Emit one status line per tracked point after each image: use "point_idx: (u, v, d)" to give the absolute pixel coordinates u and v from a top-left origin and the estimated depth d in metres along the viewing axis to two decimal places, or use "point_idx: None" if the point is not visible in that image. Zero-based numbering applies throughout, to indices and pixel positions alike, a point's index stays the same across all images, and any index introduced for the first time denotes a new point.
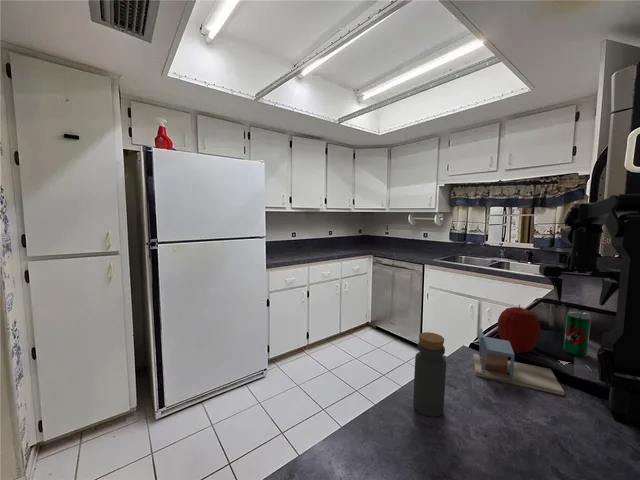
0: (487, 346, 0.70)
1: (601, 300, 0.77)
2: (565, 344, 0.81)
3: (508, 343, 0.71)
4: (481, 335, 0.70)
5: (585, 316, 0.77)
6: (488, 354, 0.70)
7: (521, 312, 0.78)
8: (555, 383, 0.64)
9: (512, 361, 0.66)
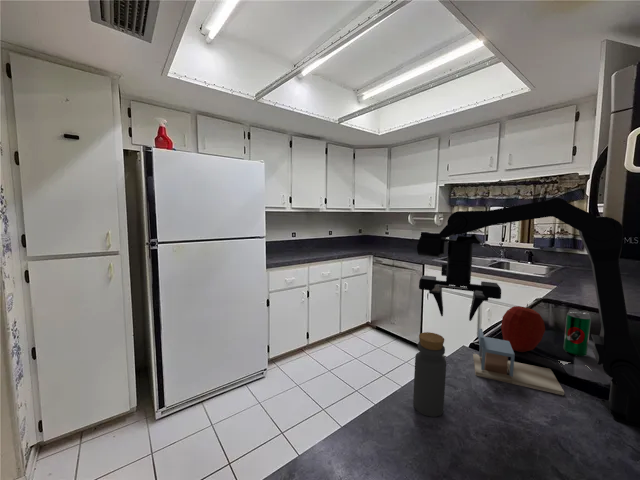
0: (487, 346, 0.70)
1: (469, 315, 0.72)
2: (565, 344, 0.81)
3: (508, 343, 0.71)
4: (481, 335, 0.70)
5: (585, 316, 0.77)
6: (488, 354, 0.70)
7: (528, 310, 0.78)
8: (555, 383, 0.64)
9: (512, 361, 0.66)
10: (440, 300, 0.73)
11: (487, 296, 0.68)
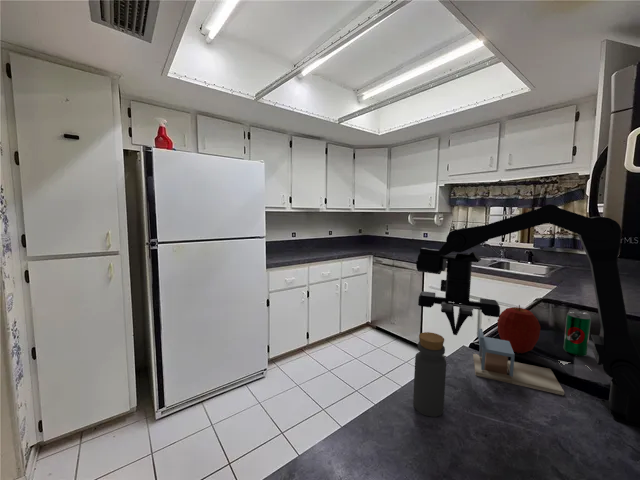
0: (487, 346, 0.70)
1: None
2: (565, 344, 0.81)
3: (508, 343, 0.71)
4: (481, 335, 0.70)
5: (585, 316, 0.77)
6: (488, 354, 0.70)
7: (520, 312, 0.78)
8: (555, 383, 0.64)
9: (512, 361, 0.66)
10: (452, 319, 0.72)
11: (486, 314, 0.68)
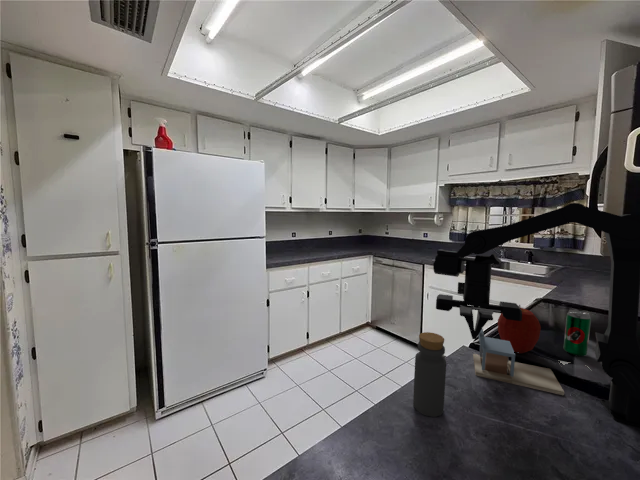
0: (488, 346, 0.70)
1: None
2: (565, 344, 0.81)
3: (509, 343, 0.71)
4: (482, 335, 0.70)
5: (585, 316, 0.77)
6: (488, 354, 0.70)
7: None
8: (555, 383, 0.64)
9: (513, 361, 0.66)
10: (472, 323, 0.71)
11: (507, 318, 0.66)
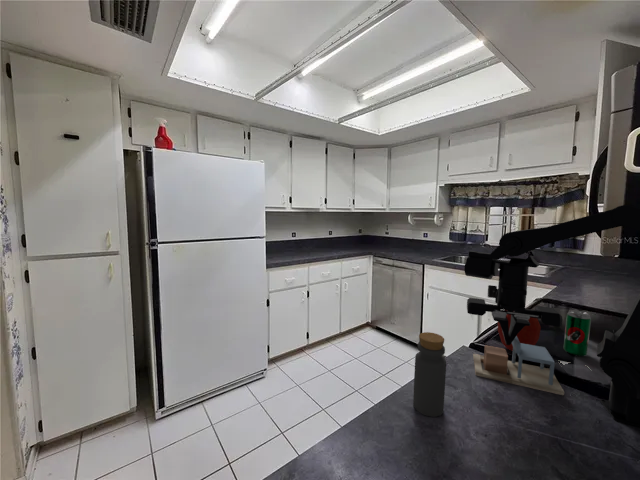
0: (523, 353, 0.66)
1: None
2: (565, 344, 0.81)
3: (545, 350, 0.68)
4: (517, 341, 0.67)
5: (585, 316, 0.77)
6: (488, 354, 0.70)
7: None
8: (555, 383, 0.64)
9: (552, 369, 0.63)
10: (507, 328, 0.67)
11: (546, 323, 0.63)
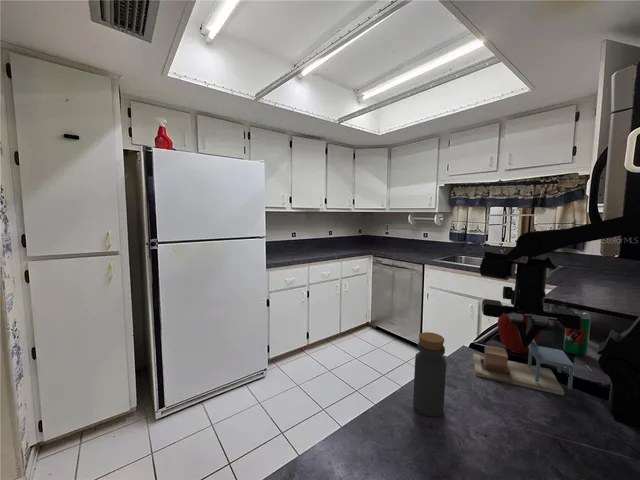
0: (541, 356, 0.65)
1: None
2: (565, 344, 0.81)
3: (563, 353, 0.67)
4: (534, 344, 0.66)
5: (585, 316, 0.77)
6: (488, 354, 0.70)
7: None
8: (555, 383, 0.64)
9: (571, 373, 0.62)
10: (524, 330, 0.66)
11: (566, 326, 0.62)
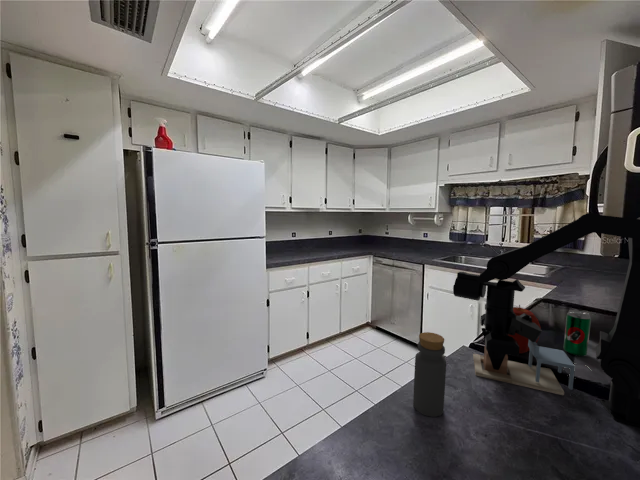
0: (542, 356, 0.65)
1: None
2: (565, 344, 0.81)
3: (563, 353, 0.67)
4: (535, 344, 0.66)
5: (585, 316, 0.77)
6: (488, 354, 0.70)
7: (521, 312, 0.78)
8: (555, 383, 0.64)
9: (572, 373, 0.61)
10: None
11: (485, 343, 0.66)
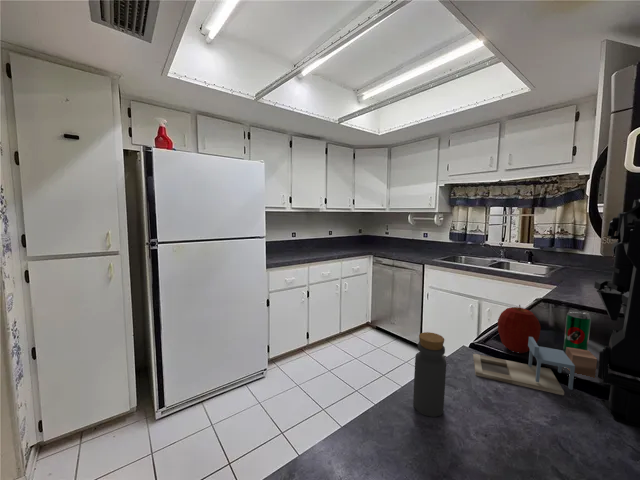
0: (542, 356, 0.65)
1: None
2: (565, 344, 0.81)
3: (563, 353, 0.67)
4: (535, 344, 0.66)
5: (585, 316, 0.77)
6: (575, 356, 0.69)
7: (521, 312, 0.78)
8: (555, 383, 0.64)
9: (572, 373, 0.61)
10: (603, 300, 0.75)
11: (623, 302, 0.64)
